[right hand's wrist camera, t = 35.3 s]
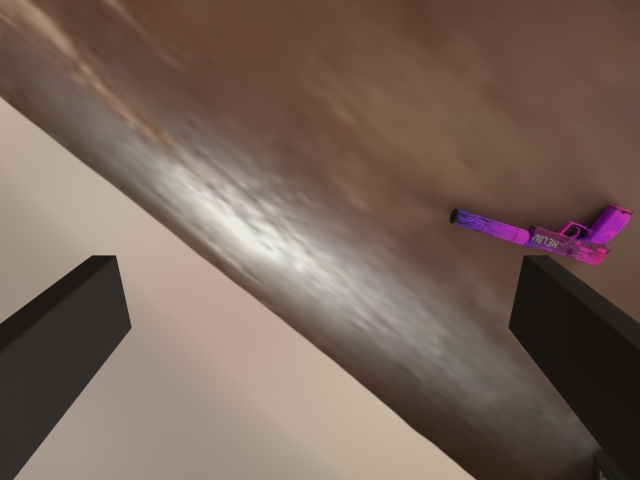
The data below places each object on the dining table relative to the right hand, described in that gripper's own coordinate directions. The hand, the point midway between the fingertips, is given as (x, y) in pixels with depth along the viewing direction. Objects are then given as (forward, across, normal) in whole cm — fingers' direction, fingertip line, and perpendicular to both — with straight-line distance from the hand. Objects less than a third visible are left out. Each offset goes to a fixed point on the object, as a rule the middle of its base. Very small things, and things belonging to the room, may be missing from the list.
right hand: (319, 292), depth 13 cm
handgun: (+34, -28, +9) cm, 45 cm away
